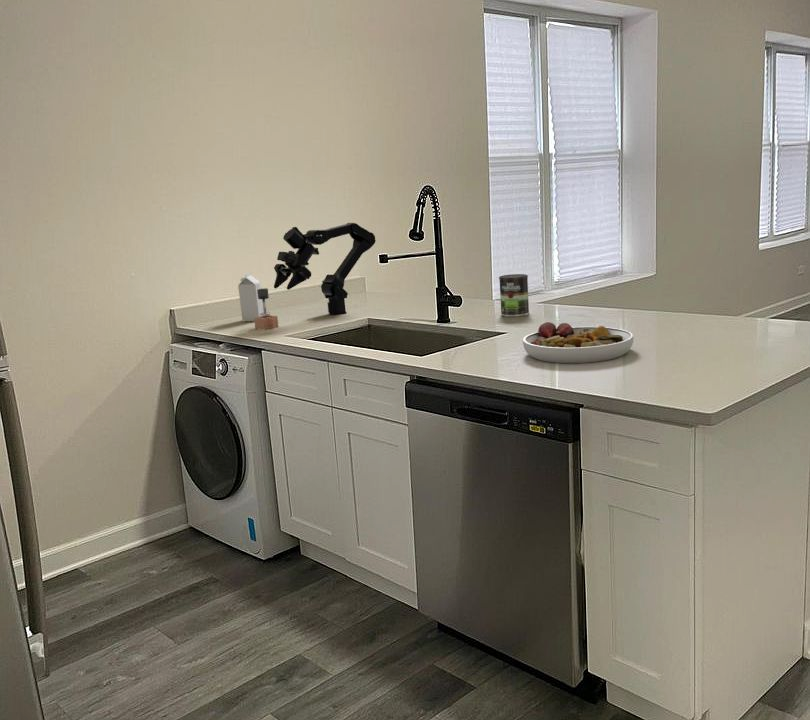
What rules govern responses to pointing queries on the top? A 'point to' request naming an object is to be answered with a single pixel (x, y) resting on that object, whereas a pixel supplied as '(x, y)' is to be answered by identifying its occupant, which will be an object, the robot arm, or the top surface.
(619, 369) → the top surface
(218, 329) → the top surface
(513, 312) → the coffee can
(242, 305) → the milk carton
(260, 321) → the reddish brown block
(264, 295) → the plunger
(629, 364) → the top surface
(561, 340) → the bowl
